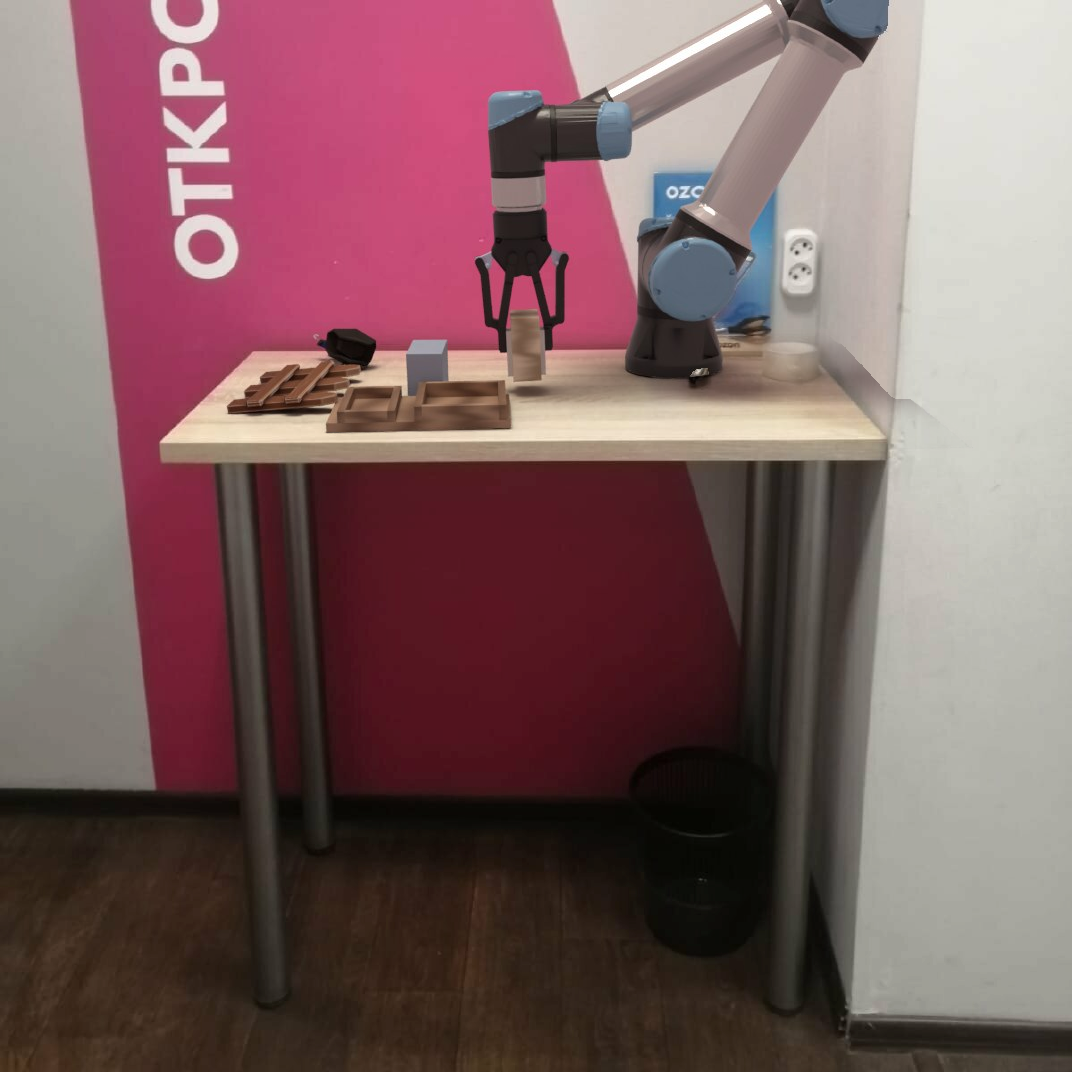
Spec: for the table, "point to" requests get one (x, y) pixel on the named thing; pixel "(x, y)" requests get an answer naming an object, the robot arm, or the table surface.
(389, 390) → the tray
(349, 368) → the decorative fence
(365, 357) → the toy
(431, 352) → the grey rectangular block
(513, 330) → the wooden block
